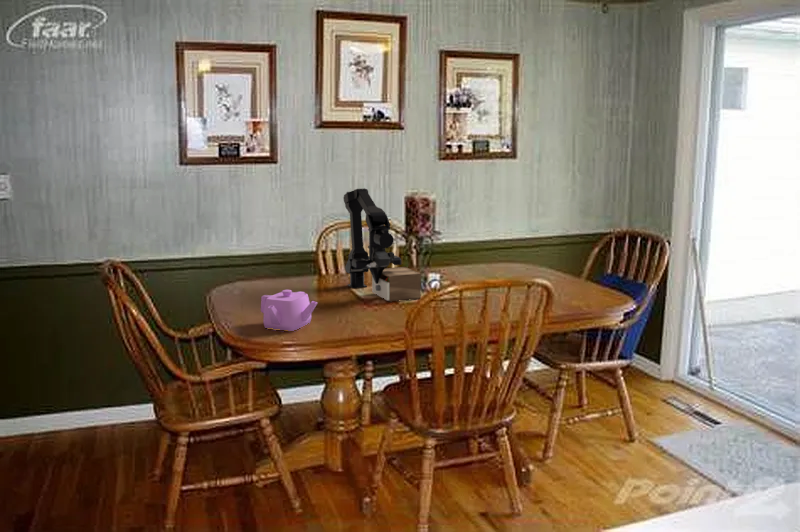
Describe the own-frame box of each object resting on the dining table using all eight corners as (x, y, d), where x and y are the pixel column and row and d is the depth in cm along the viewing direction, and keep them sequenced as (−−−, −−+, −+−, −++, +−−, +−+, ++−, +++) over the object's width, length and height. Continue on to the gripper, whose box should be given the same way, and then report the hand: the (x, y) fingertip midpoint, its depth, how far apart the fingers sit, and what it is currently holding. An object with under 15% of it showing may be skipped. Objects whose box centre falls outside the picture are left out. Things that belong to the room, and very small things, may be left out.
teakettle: (304, 317, 254) (303, 282, 252) (319, 329, 239) (318, 293, 237) (256, 322, 248) (255, 287, 245) (269, 335, 232) (268, 298, 230)
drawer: (369, 292, 287) (369, 275, 286) (401, 289, 293) (401, 272, 291) (384, 300, 274) (384, 283, 272) (417, 297, 279) (417, 280, 278)
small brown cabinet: (375, 293, 288) (374, 269, 286) (404, 290, 293) (404, 266, 291) (389, 302, 275) (389, 276, 273) (420, 298, 280) (420, 273, 278)
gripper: (361, 248, 265) (361, 290, 268) (407, 245, 273) (407, 285, 276) (350, 244, 275) (351, 283, 278) (395, 241, 283) (395, 279, 286)
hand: (376, 283), depth 279 cm, fingers closed
